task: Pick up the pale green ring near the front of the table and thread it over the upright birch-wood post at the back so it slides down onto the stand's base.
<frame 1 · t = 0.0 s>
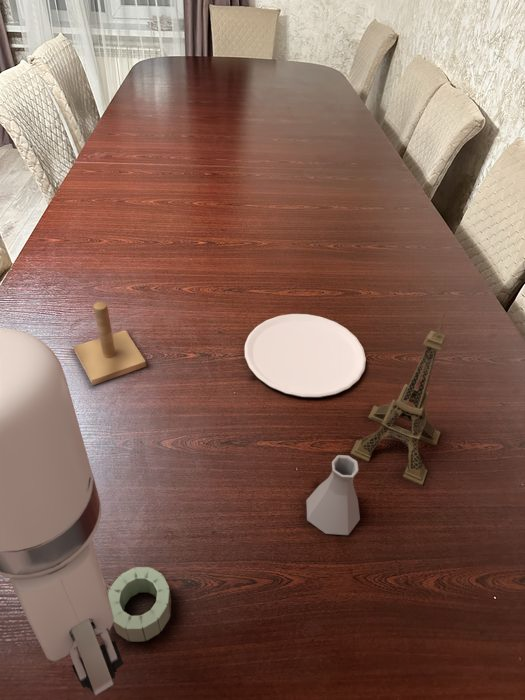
hand: (83, 616, 44), 14 cm above the table, tool pointing down, fingers open, 9 cm apart
plate: (304, 357, 90), on the table
pale green ring: (141, 610, 58), on the table
flask: (332, 511, 68), on the table
stand: (110, 358, 86), on the table
eiffel tower: (395, 444, 77), on the table
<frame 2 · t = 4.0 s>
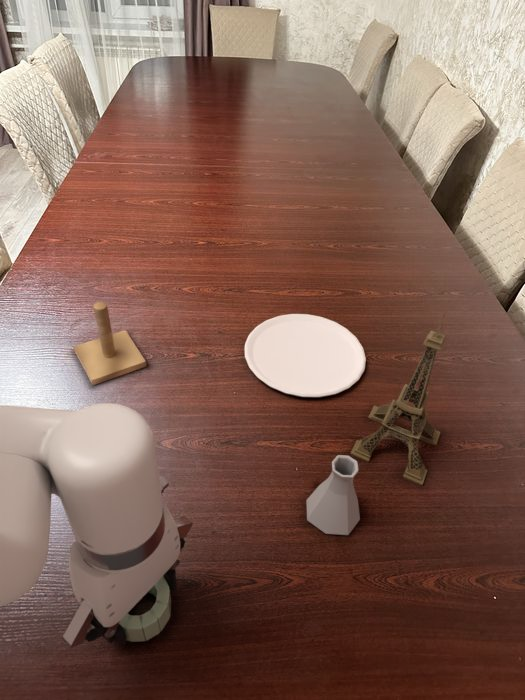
hand: (140, 606, 57), 1 cm above the table, tool pointing down, fingers closed on pale green ring, 6 cm apart
pale green ring: (141, 610, 58), on the table, touching gripper
everything else where it was.
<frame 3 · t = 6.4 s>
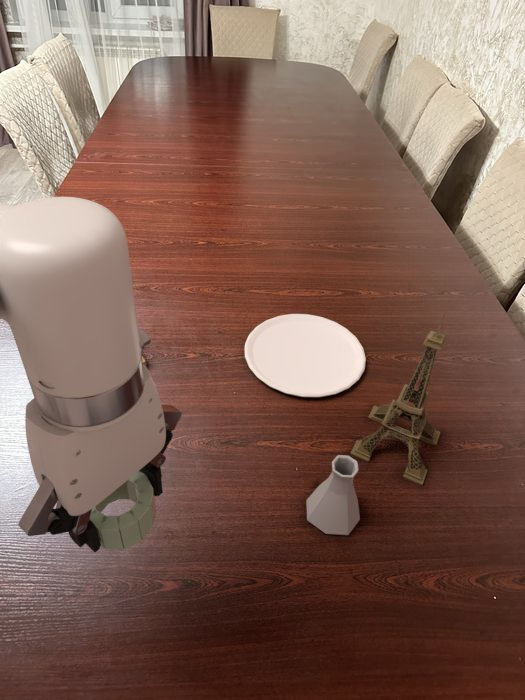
hand: (119, 511, 48), 16 cm above the table, tool pointing down, fingers closed on pale green ring, 6 cm apart
pale green ring: (120, 517, 49), point 15 cm above the table, touching gripper
everything else where it was.
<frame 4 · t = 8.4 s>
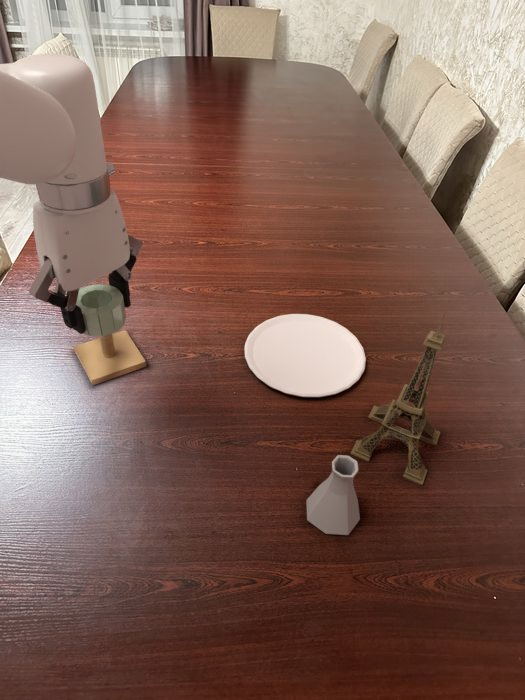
hand: (99, 314, 68), 17 cm above the table, tool pointing down, fingers closed on pale green ring, 6 cm apart
pale green ring: (100, 320, 69), point 16 cm above the table, touching gripper
everything else where it was.
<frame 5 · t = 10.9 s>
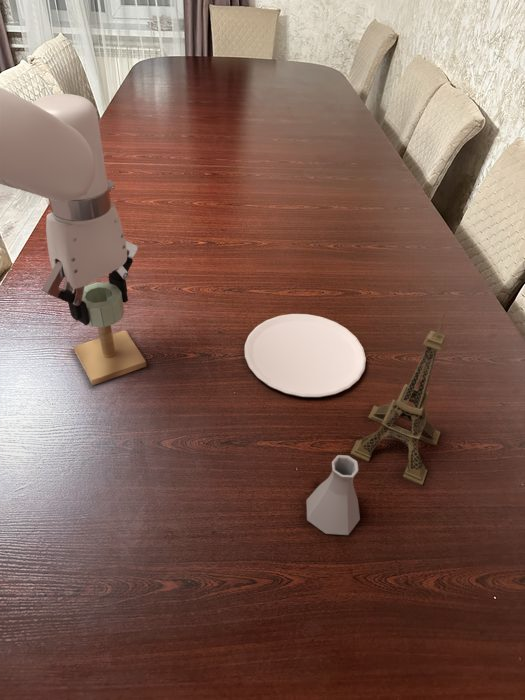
hand: (101, 308, 79), 11 cm above the table, tool pointing down, fingers closed on pale green ring, 6 cm apart
pale green ring: (102, 313, 80), point 10 cm above the table, touching gripper
everything else where it was.
when the fingers open (5 cm above the table, at t = 13.1 s): pale green ring drops 3 cm, resting on stand.
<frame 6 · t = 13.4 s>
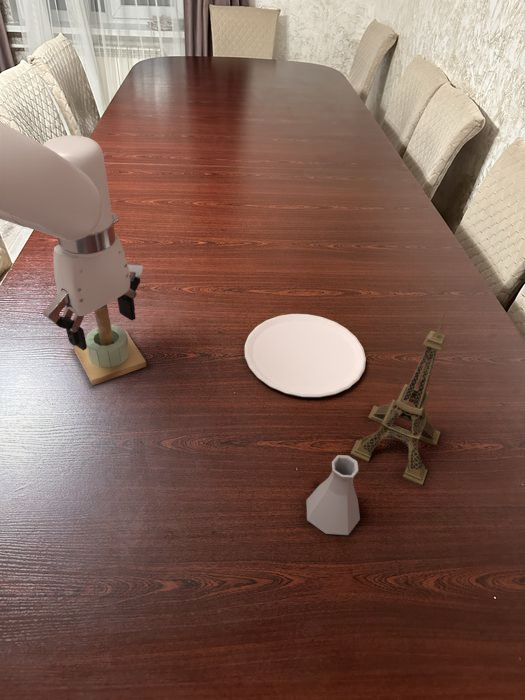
hand: (104, 330, 82), 6 cm above the table, tool pointing down, fingers open, 9 cm apart
pale green ring: (109, 354, 86), point 1 cm above the table, touching stand
everything else where it was.
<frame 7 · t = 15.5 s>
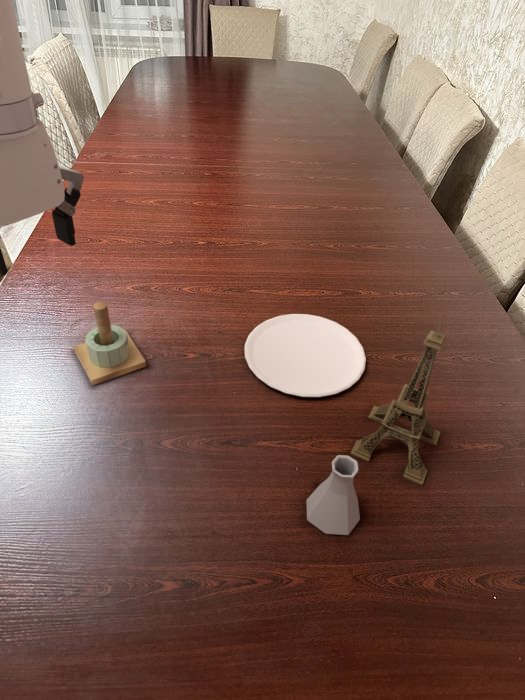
hand: (34, 255, 66), 24 cm above the table, tool pointing down, fingers open, 9 cm apart
nothing on the table moved.
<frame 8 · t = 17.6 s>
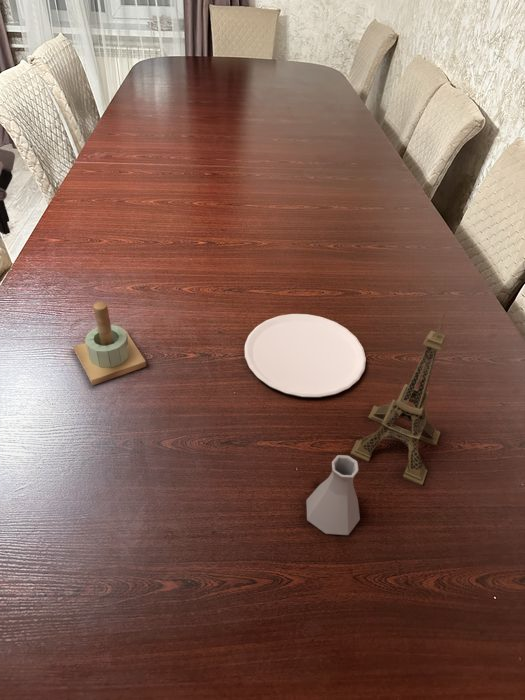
nothing on the table moved.
at the end: pale green ring 0.1 cm off-centre on the stand, point 1.2 cm above the stand's base; pale green ring tilted 0° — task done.
